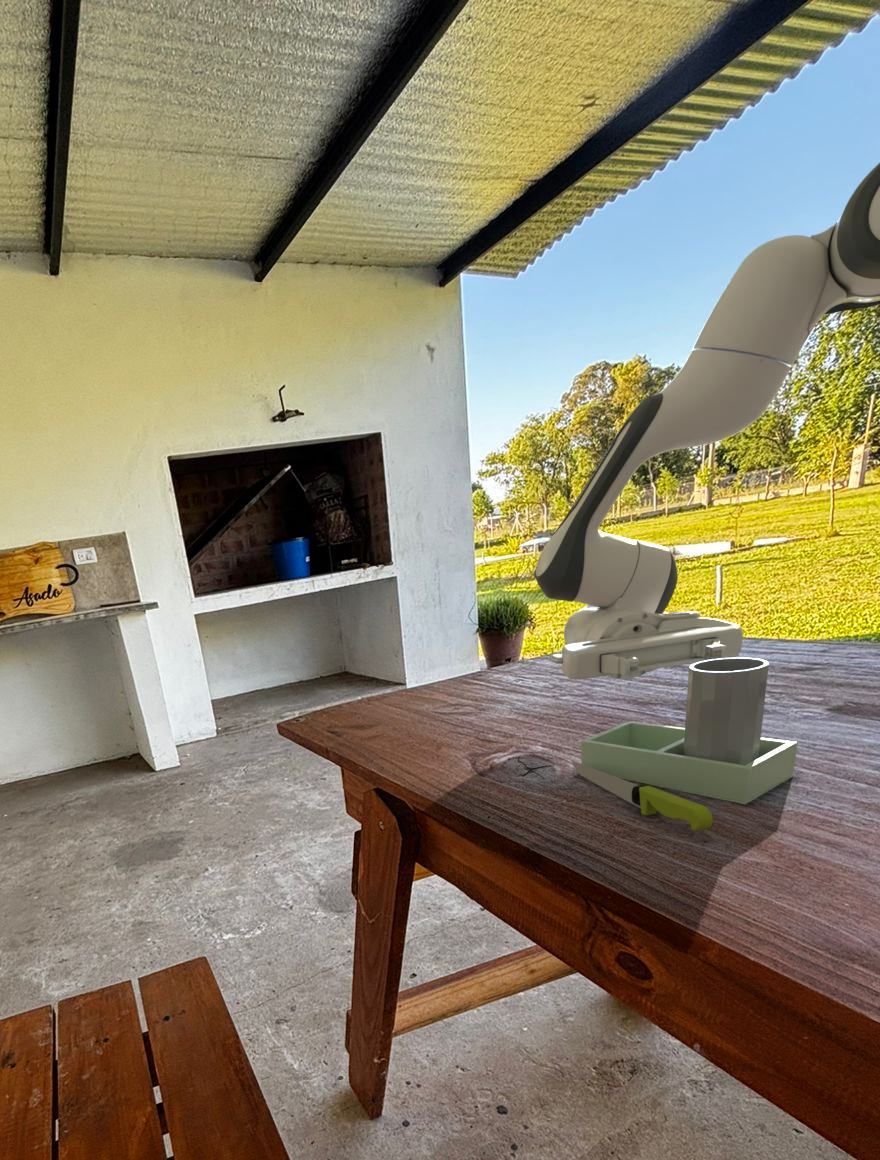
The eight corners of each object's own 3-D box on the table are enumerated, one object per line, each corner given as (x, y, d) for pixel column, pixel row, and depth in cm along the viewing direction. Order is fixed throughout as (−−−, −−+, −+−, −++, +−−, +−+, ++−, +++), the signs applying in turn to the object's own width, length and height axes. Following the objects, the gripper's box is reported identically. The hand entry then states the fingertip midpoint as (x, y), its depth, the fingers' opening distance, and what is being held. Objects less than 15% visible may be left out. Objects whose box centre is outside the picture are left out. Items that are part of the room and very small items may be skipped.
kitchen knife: (567, 783, 75) (566, 760, 74) (577, 781, 75) (576, 758, 74) (699, 843, 54) (700, 811, 53) (713, 840, 54) (714, 808, 53)
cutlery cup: (703, 762, 69) (711, 656, 65) (769, 773, 64) (782, 658, 60) (669, 779, 67) (675, 670, 62) (735, 792, 61) (746, 673, 57)
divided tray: (628, 751, 78) (629, 720, 77) (793, 779, 63) (798, 741, 62) (581, 773, 74) (581, 741, 73) (744, 808, 60) (748, 768, 58)
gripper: (546, 634, 85) (581, 648, 72) (707, 608, 81) (773, 619, 69) (547, 679, 87) (581, 700, 74) (704, 656, 84) (767, 674, 71)
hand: (675, 661), depth 71 cm, fingers open, 8 cm apart
